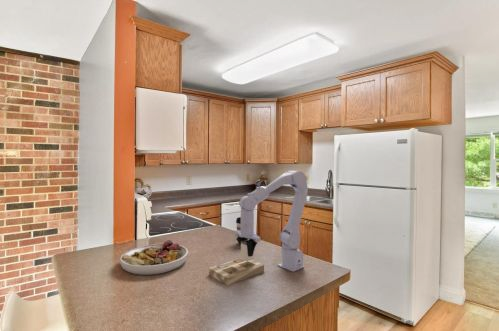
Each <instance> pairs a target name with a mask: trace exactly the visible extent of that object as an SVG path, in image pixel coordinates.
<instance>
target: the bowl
mask: <svg viewBox="0 0 499 331" xmlns="http://www.w3.org/2000/svg"><path fill="white" fill-rule="evenodd" d="M188 256H189V250H188V248H186V247H185V246H183V245H180V244H178V243H174V242H173V241H172V240H171V239H168V240H165V241H164V242H163V243H156V244H155V243H154V244H149V245H147V244H146V245H142V246H139V247H135V248H133V249H132V248H131V249H129V250H128V251H127V250H126V252H124V253H123V254H121V256H120V258H119V263H120V265H121V267H122V268H123V270H124V271H126V272H128V273H130V274H133V275H134V274H135V275H142V276H150V275H159V274H164V273H167V272H171V271H174V270H176V269H178V268H179V267H181V266H182V265H183V264H184V263H185V262H186V261H187V259H188Z"/></svg>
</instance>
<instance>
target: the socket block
mask: <svg viewBox="0 0 499 331" xmlns="http://www.w3.org/2000/svg"><path fill="white" fill-rule="evenodd" d="M264 272H265V264H263V263H261V262H258V261H256V260H251V261H247V262H246V261H244V260H242V259H241V257H240V258H236V259H233V260H229V261H227V262H224V263H221V264H217V265H215V266H211V267H208V276H210V277H212V278H214V279H215V280H217V281H219V282H220V283H222V284H224V285H226V286H230V285H232V284H235V283H237V282H238V283H239V282H241V281H244V280H247V279H248V278H250V277H251V278H252V277H254V276H257V275H258V274H259V275H260V274H261V273H264Z"/></svg>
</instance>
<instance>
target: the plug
mask: <svg viewBox="0 0 499 331" xmlns="http://www.w3.org/2000/svg"><path fill="white" fill-rule="evenodd" d="M247 240H248V239H247ZM247 240H243V241H241V249H240V258H241V259H242V260H244V261H246V262H247V261H251V260H254V258H255V256H254V254H255V252H254V253H253V256H250V257H249V256H248V248H247V244H246V241H247ZM254 261H255V260H254Z"/></svg>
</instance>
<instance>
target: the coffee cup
mask: <svg viewBox="0 0 499 331" xmlns="http://www.w3.org/2000/svg"><path fill="white" fill-rule="evenodd" d="M235 224H236V231H237V230H240V231H241V216H238V217H236V220H235ZM236 236H237V238H238V237H239V235H236ZM248 240H249V239H248ZM237 244H238V245H239V243H238V242H237Z"/></svg>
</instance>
